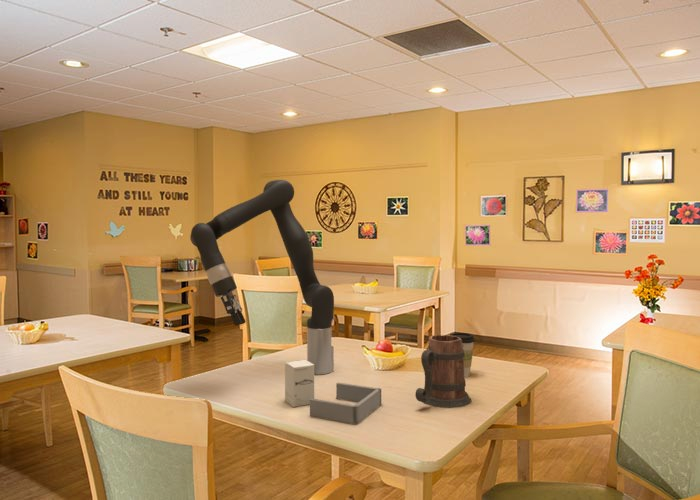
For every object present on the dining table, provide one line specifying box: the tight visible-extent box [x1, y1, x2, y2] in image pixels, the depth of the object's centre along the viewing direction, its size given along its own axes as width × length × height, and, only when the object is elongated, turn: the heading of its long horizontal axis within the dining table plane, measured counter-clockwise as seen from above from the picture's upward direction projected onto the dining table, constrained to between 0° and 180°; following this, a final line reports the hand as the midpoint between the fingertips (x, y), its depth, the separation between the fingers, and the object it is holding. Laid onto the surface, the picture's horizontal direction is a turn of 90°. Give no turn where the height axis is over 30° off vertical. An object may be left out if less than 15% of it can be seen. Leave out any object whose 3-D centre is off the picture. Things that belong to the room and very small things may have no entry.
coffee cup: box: [449, 332, 476, 378], centre depth 199 cm, size 10×10×15 cm
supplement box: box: [284, 359, 315, 408], centre depth 169 cm, size 7×7×13 cm
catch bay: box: [309, 381, 382, 426], centre depth 162 cm, size 15×18×5 cm
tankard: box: [415, 334, 472, 409], centre depth 170 cm, size 24×17×20 cm
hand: (240, 324), depth 177 cm, fingers open, 8 cm apart
